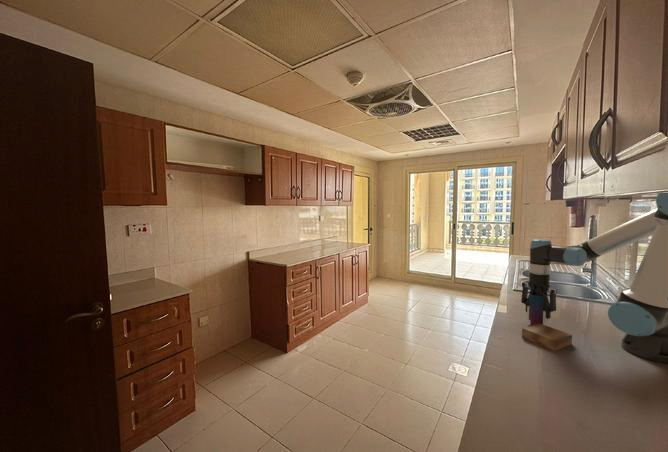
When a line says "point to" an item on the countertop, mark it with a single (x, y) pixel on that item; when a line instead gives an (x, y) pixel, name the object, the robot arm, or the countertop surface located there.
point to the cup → (536, 308)
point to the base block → (547, 336)
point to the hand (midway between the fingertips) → (537, 322)
